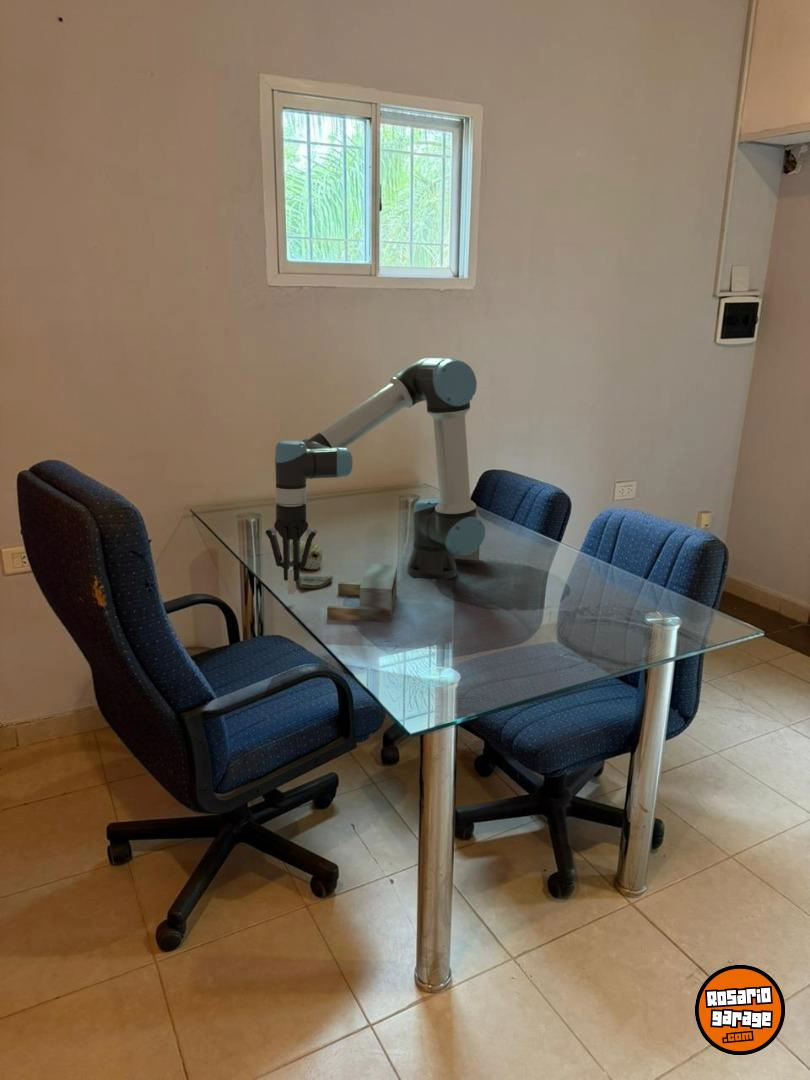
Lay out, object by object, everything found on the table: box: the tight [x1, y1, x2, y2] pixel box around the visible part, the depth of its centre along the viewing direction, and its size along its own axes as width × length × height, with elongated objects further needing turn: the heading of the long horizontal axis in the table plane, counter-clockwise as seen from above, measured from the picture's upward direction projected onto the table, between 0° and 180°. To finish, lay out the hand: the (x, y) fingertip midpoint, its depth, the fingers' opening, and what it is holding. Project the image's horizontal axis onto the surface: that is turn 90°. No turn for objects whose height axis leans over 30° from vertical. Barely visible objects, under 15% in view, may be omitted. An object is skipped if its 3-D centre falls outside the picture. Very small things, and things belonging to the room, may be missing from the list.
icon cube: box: [453, 545, 481, 561], centre depth 239 cm, size 10×10×10 cm
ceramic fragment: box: [296, 575, 334, 589], centre depth 209 cm, size 11×3×10 cm
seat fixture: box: [326, 563, 398, 623], centre depth 192 cm, size 16×19×8 cm
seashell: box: [290, 540, 323, 570], centre depth 224 cm, size 10×10×10 cm
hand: (291, 592), depth 193 cm, fingers closed
